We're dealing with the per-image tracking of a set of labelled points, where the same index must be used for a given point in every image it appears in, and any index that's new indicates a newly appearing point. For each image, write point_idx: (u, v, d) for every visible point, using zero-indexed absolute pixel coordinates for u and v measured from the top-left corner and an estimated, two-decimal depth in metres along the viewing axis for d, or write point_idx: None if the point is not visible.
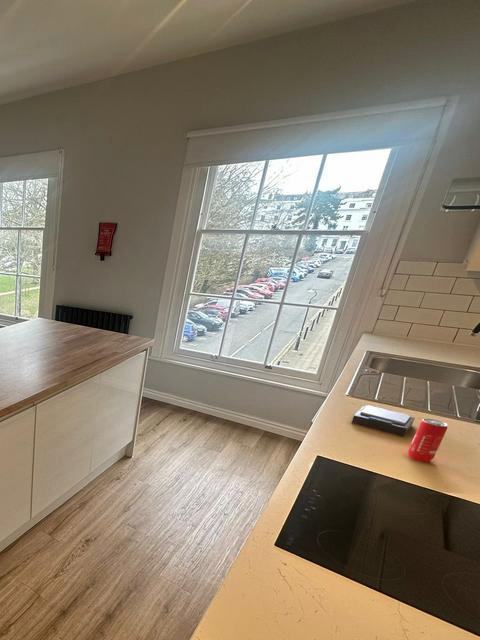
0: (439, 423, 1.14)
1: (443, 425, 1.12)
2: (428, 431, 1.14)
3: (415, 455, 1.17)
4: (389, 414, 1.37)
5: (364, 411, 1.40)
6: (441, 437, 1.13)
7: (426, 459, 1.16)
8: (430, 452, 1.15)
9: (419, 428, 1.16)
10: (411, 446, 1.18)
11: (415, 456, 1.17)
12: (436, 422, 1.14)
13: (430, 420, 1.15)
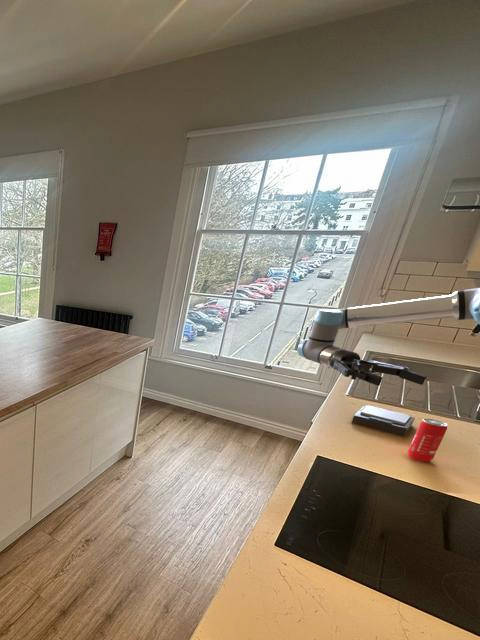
0: (439, 423, 1.14)
1: (443, 425, 1.12)
2: (428, 431, 1.14)
3: (415, 455, 1.17)
4: (389, 414, 1.37)
5: (364, 411, 1.40)
6: (441, 437, 1.13)
7: (426, 459, 1.16)
8: (430, 452, 1.15)
9: (419, 428, 1.16)
10: (411, 446, 1.18)
11: (415, 456, 1.17)
12: (436, 422, 1.14)
13: (430, 420, 1.15)
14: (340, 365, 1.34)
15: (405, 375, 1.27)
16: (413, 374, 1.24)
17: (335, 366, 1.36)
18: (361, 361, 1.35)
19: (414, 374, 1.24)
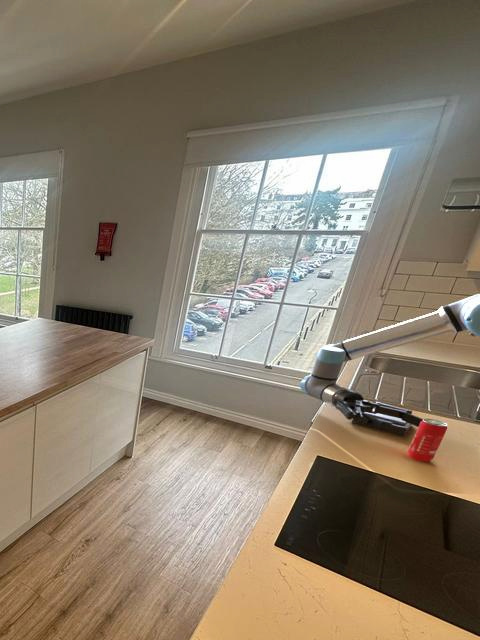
0: (439, 423, 1.14)
1: (443, 425, 1.12)
2: (428, 431, 1.14)
3: (415, 455, 1.17)
4: None
5: None
6: (441, 437, 1.13)
7: (426, 459, 1.16)
8: (430, 452, 1.15)
9: (419, 428, 1.16)
10: (411, 446, 1.18)
11: (415, 456, 1.17)
12: (436, 422, 1.14)
13: (430, 420, 1.15)
14: (342, 406, 1.34)
15: (408, 418, 1.27)
16: (416, 418, 1.25)
17: (337, 407, 1.37)
18: (364, 402, 1.35)
19: (417, 418, 1.24)
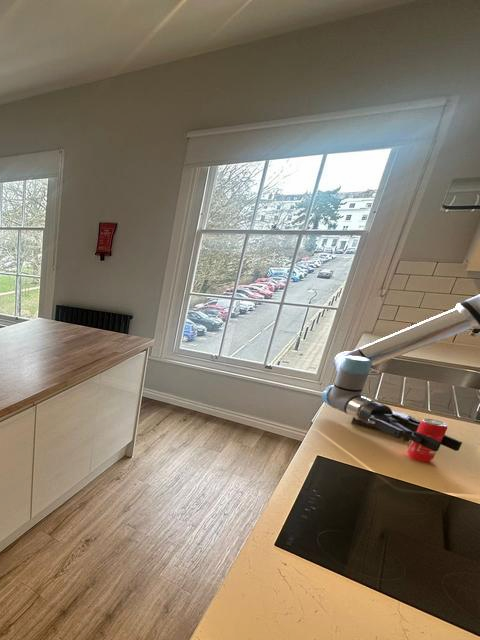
0: (439, 423, 1.14)
1: (443, 425, 1.12)
2: (428, 431, 1.14)
3: (415, 455, 1.17)
4: None
5: None
6: (441, 437, 1.13)
7: (426, 459, 1.16)
8: (430, 452, 1.15)
9: (419, 428, 1.16)
10: (411, 446, 1.18)
11: (415, 456, 1.17)
12: (436, 422, 1.14)
13: (430, 420, 1.15)
14: (381, 423, 1.23)
15: None
16: (447, 438, 1.13)
17: (371, 423, 1.26)
18: (393, 416, 1.26)
19: (448, 438, 1.13)
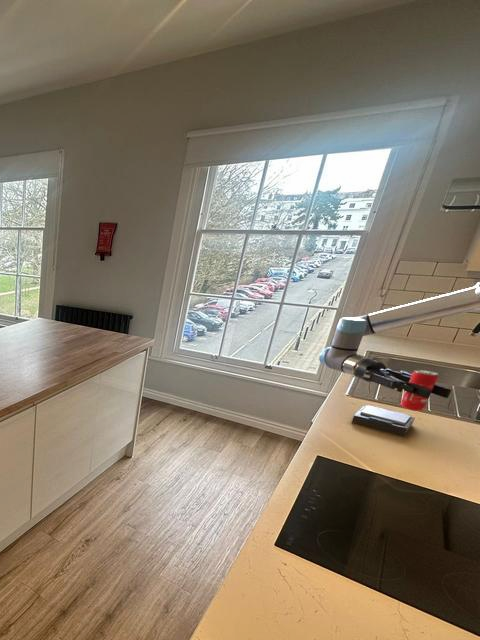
0: (430, 373, 1.21)
1: (434, 374, 1.20)
2: (420, 380, 1.21)
3: (408, 404, 1.24)
4: (389, 414, 1.37)
5: (364, 411, 1.40)
6: (432, 385, 1.20)
7: (418, 407, 1.23)
8: (421, 400, 1.22)
9: (411, 378, 1.23)
10: (404, 396, 1.25)
11: (408, 405, 1.24)
12: (427, 372, 1.21)
13: (422, 370, 1.23)
14: (375, 376, 1.30)
15: None
16: (437, 387, 1.21)
17: (366, 377, 1.33)
18: (387, 370, 1.33)
19: (438, 387, 1.20)
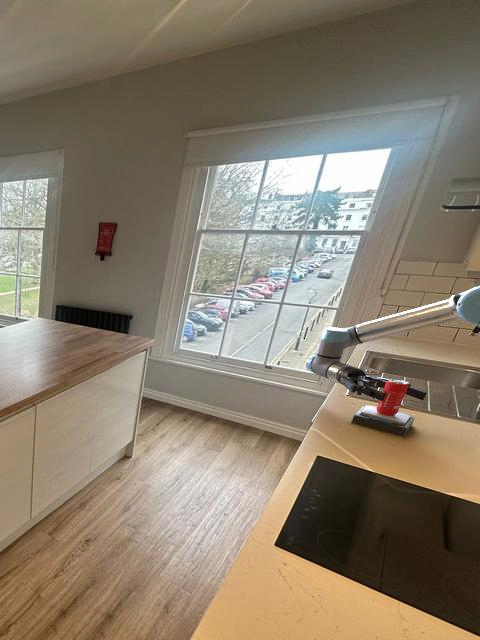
0: (402, 382, 1.33)
1: (405, 383, 1.32)
2: (392, 388, 1.33)
3: (382, 410, 1.37)
4: None
5: (364, 411, 1.40)
6: (403, 393, 1.33)
7: (391, 413, 1.35)
8: (394, 407, 1.35)
9: (385, 387, 1.36)
10: (379, 403, 1.38)
11: (382, 411, 1.37)
12: (399, 381, 1.34)
13: (394, 380, 1.35)
14: (346, 381, 1.44)
15: (407, 391, 1.37)
16: (414, 390, 1.35)
17: (342, 382, 1.47)
18: (366, 377, 1.45)
19: (415, 390, 1.34)
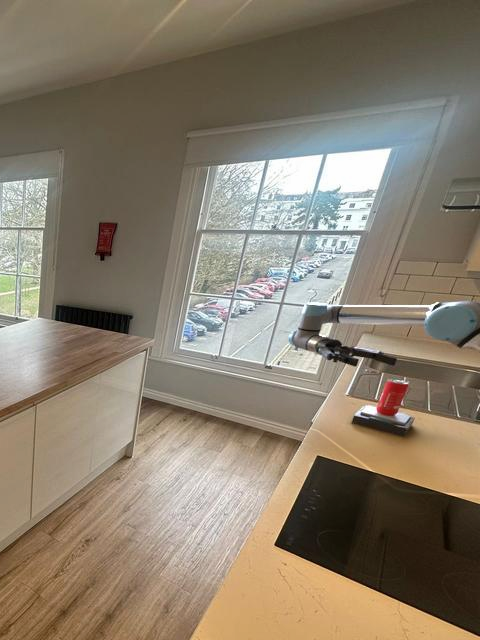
0: (402, 382, 1.33)
1: (405, 383, 1.32)
2: (392, 388, 1.33)
3: (382, 410, 1.37)
4: None
5: (364, 411, 1.40)
6: (403, 393, 1.33)
7: (391, 413, 1.35)
8: (394, 407, 1.35)
9: (385, 387, 1.36)
10: (379, 403, 1.38)
11: (382, 411, 1.37)
12: (399, 381, 1.34)
13: (394, 380, 1.35)
14: (324, 350, 1.53)
15: (380, 358, 1.46)
16: (386, 357, 1.44)
17: (320, 352, 1.56)
18: (342, 347, 1.54)
19: (387, 357, 1.44)
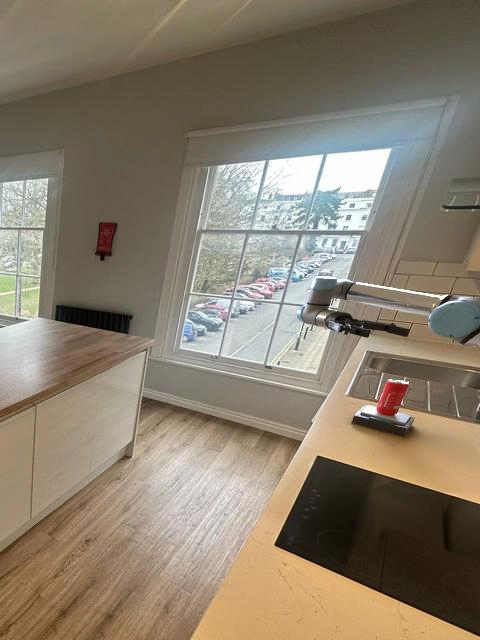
0: (402, 382, 1.33)
1: (405, 383, 1.32)
2: (392, 388, 1.33)
3: (382, 410, 1.37)
4: None
5: (364, 411, 1.40)
6: (403, 393, 1.33)
7: (391, 413, 1.35)
8: (394, 407, 1.35)
9: (385, 387, 1.36)
10: (379, 403, 1.38)
11: (382, 411, 1.37)
12: (399, 381, 1.34)
13: (394, 380, 1.35)
14: (334, 323, 1.49)
15: (392, 330, 1.42)
16: (399, 328, 1.40)
17: (330, 325, 1.52)
18: (353, 320, 1.50)
19: (399, 328, 1.40)
